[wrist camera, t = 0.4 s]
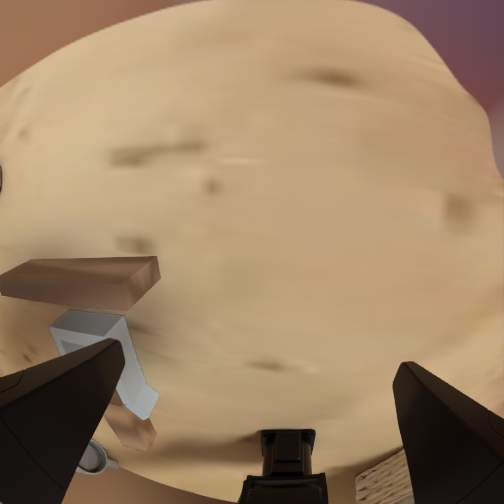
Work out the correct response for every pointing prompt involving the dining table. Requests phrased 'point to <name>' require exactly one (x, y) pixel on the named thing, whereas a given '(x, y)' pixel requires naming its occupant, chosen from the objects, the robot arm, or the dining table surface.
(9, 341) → the dining table surface
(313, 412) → the dining table surface
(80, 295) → the backstop
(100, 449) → the ceramic mug
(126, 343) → the cradle
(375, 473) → the storage basket
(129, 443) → the rectangular wooden block
